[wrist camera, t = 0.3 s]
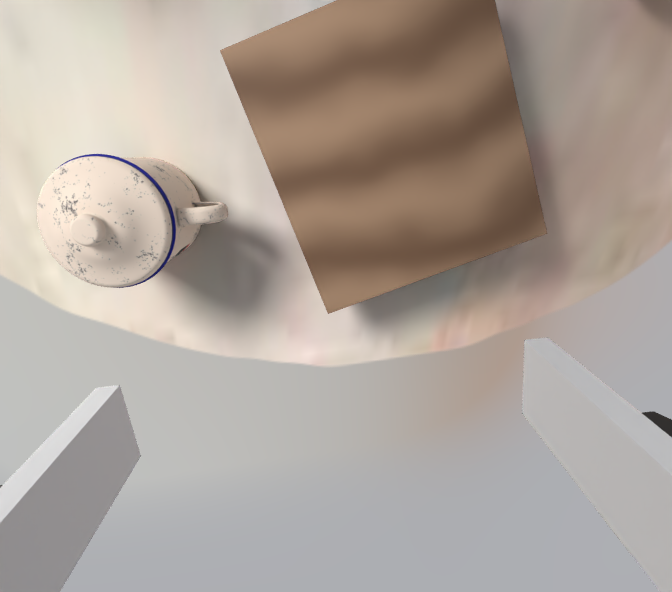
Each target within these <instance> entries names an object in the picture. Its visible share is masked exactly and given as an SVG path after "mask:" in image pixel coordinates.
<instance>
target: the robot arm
mask: <svg viewBox="0 0 672 592" xmlns="http://www.w3.org/2000/svg"><path fill="white" fill-rule="evenodd" d="M523 373H524V375H523V403H522V414H523V415H524V417H525V418H526V419H527V421H528V422H529V423H530V424H531V426H532V427H533V428H534V430H535V431H536V432H537V433H538V435H539V436H540V437H541V439H542V440H543V441H544V442H545V443H546V445H547V446H548V448H549V449H550V450H551V452H552V453H553V454H554V455H555V457H556V458H557V459H558V461H559V462H560V463H561V464H562V466H563V467H564V468H565V470H566V471H567V472H568V474H569V475H570V476H571V477H572V479H573V480H574V481H575V483H576V484H577V485H578V486H579V488H580V489H581V490H582V492H583V493H584V494H585V495H586V497H587V498H588V500H589V501H590V502H591V503H592V505H593V506H594V507H595V509H596V510H597V511H598V512H599V514H600V515H601V516H602V518H603V519H604V520H605V522H606V523H607V524H608V525H609V527H610V528H611V529H612V530H613V532H614V533H615V534H616V536H617V537H618V538H619V540H620V541H621V542H622V543H623V545H624V546H625V547H626V549H627V550H628V551H629V553H630V554H631V555H632V557H633V558H634V559H635V560H636V562H637V563H638V564H639V566H640V567H641V568H642V569H643V571H644V572H645V573H646V575H647V576H648V577H649V579H650V580H651V581H652V582H653V584H654V585H655V586H656V588H657V589H658V590H659V591H660V592H672V420H671V419H669V418H667V417H664V416H662V415H660V414H658V413H656V412H645V413H641V412H639V411H638V410H637V409H636V408H635V407H633V406H632V405H631V404H630V403H628V402H627V401H626V400H625V399H623V398H622V397H621V396H620V395H619V394H617V393H616V392H615V391H614V390H612V389H611V388H610V387H609V386H607V385H606V384H605V383H604V382H603V381H601V380H600V379H599V378H598V377H596V376H595V375H594V374H593V373H592V372H590V371H589V370H588V369H587V368H585V367H584V366H583V365H582V364H580V363H579V362H578V361H577V360H575V359H574V358H573V357H572V356H570V355H569V354H568V353H567V352H565V351H564V350H563V349H562V348H561V347H559V346H558V345H557V344H556V343H555V342H553V341H551V339H549V338H548V337H547V338H538V339H529V340H524V372H523ZM140 456H141V455H140V452H139V448H138V445H137V441H136V438H135V435H134V431H133V428H132V425H131V421H130V418H129V415H128V411H127V408H126V404H125V401H124V398H123V394H122V391H121V388H120V385H117V386H108V387H100V388H96V389H95V390H94V391H93V392H92V393H91V394H90V395H89V396H88V397H87V398H86V399H85V400H84V401H83V402H82V403H81V404H80V405H79V406H78V407H77V408H76V409H75V410H74V412H72V414H71V415H70V416H69V417H68V418H67V419H66V420H65V421H64V422H63V423H62V424H61V425H60V426H59V427H58V428H57V429H56V430H55V431H54V432H53V433H52V434H51V435H50V437H48V439H47V440H46V441H45V442H44V443H43V444H42V445H41V446H40V447H39V448H38V449H37V450H36V451H35V452H34V453H33V454H32V455H31V456H30V457H29V458H28V459H27V461H25V463H24V464H23V465H22V466H21V467H20V468H19V469H18V470H17V471H16V472H15V473H14V474H13V475H12V476H11V477H10V478H9V479H8V480H7V481H6V482H5V483H4V484H3V485H0V592H60V591H61V589H62V587H63V586H64V584H65V582H66V581H67V579H68V577H69V576H70V574H71V572H72V571H73V569H74V567H75V566H76V564H77V562H78V561H79V559H80V557H81V556H82V554H83V552H84V551H85V549H86V547H87V546H88V544H89V542H90V540H91V539H92V537H93V535H94V534H95V532H96V530H97V528H98V527H99V525H100V524H101V522H102V520H103V519H104V517H105V515H106V514H107V512H108V510H109V509H110V507H111V505H112V504H113V502H114V500H115V498H116V497H117V495H118V493H119V492H120V490H121V488H122V486H123V485H124V483H125V482H126V480H127V478H128V477H129V475H130V473H131V472H132V470H133V468H134V467H135V465H136V463H137V462H138V460H139V458H140Z"/></svg>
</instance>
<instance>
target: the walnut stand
mask: <svg viewBox="0 0 672 592" xmlns="http://www.w3.org/2000/svg"><path fill="white" fill-rule="evenodd" d="M220 52H221V54H222V57H223V59H224V61H225V64H226V66H227V69H228V71H229V74H230V76H231V78H232V81H233V83H234V86H235V88H236V91H237V93H238V95H239V98H240V100H241V103H242V105H243V108H244V110H245V113H246V115H247V117H248V120H249V122H250V125H251V127H252V130H253V132H254V134H255V137H256V139H257V142H258V144H259V147H260V149H261V152H262V154H263V156H264V159H265V161H266V164H267V166H268V169H269V171H270V173H271V176H272V178H273V181H274V183H275V186H276V188H277V190H278V193H279V195H280V198H281V200H282V203H283V205H284V208H285V210H286V212H287V215H288V217H289V220H290V222H291V225H292V227H293V229H294V232H295V234H296V237H297V239H298V242H299V244H300V247H301V249H302V251H303V254H304V256H305V259H306V261H307V264H308V266H309V268H310V271H311V273H312V276H313V278H314V281H315V283H316V285H317V288H318V290H319V293H320V295H321V298H322V300H323V303H324V305H325V307H326V310H327V312H328V314H329V313H332V312H335V311H337V310H340V309H343V308H345V307H348V306H351V305H354V304H356V303H359V302H362V301H365V300H367V299H370V298H373V297H375V296H378V295H381V294H384V293H386V292H389V291H392V290H395V289H397V288H400V287H403V286H405V285H408V284H411V283H414V282H416V281H419V280H422V279H425V278H427V277H430V276H433V275H435V274H438V273H441V272H444V271H446V270H449V269H452V268H455V267H457V266H460V265H463V264H465V263H468V262H471V261H474V260H476V259H479V258H482V257H485V256H487V255H490V254H493V253H495V252H498V251H501V250H504V249H506V248H509V247H512V246H515V245H517V244H520V243H523V242H525V241H528V240H531V239H534V238H536V237H539V236H542V235H545V234H547V231H546V226H545V222H544V217H543V213H542V209H541V204H540V200H539V195H538V191H537V186H536V182H535V177H534V173H533V169H532V164H531V160H530V155H529V151H528V146H527V142H526V138H525V133H524V129H523V124H522V120H521V115H520V111H519V106H518V102H517V98H516V93H515V89H514V84H513V80H512V75H511V71H510V66H509V62H508V58H507V53H506V49H505V44H504V40H503V35H502V31H501V26H500V22H499V18H498V13H497V9H496V4H495V0H337V1H334V2H332V3H330V4H327V5H325V6H323V7H320V8H318V9H316V10H313V11H311V12H309V13H306V14H304V15H302V16H299V17H297V18H295V19H292V20H290V21H288V22H285V23H283V24H281V25H278V26H276V27H274V28H271V29H269V30H267V31H264V32H262V33H260V34H257V35H255V36H253V37H250V38H248V39H246V40H243V41H241V42H239V43H236V44H234V45H232V46H229V47H227V48H225V49H222V50H220Z"/></svg>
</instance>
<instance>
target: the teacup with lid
mask: <svg viewBox="0 0 672 592" xmlns="http://www.w3.org/2000/svg"><path fill="white" fill-rule="evenodd" d="M227 217H228V210H227V206H226V205H225V204H224V203H221V202H201V201H200V198H199V195H198V193H197V191H196V189H195V187H194V185H193V184H192V182H191V181H190V180H189V178H188V177H187V176H186V175H185V174H184V173H183V172H182V171H180V170H179V169H178V168H176V167H175V166H173V165H171V164H169V163H167V162H165V161H162V160H159V159H155V158H147V157H139V158H119V157H115V156H111V155H104V154H90V155H84V156H79V157H76V158H73V159H71V160H69V161H67V162H65V163H64V164H62V165H61V166H59V167H58V168H57V169H56V170H55V171H54V172H53V173H52V174H51V175H50V176H49V177H48V179H47V180H46V182H45V183H44V185H43V187H42V189H41V192H40V195H39V199H38V204H37V220H38V226H39V230H40V234H41V236H42V239H43V241H44V243H45V245H46V247H47V249H48V250H49V252H50V253H51V255H52V256H53V257H54V258H55V259H56V261H57V262H58V263H59V264H60V265H61V266H62V267H64V268H65V269H66V270H67V271H68V272H70V273H71V274H73V275H74V276H76V277H78V278H80V279H81V280H84V281H86V282H88V283H91V284H94V285H98V286H103V287H113V288H123V287H130V286H134V285H137V284H140V283H143V282H145V281H147V280H149V279H150V278H152V277H153V276H155V275H156V274H157V273H158V272H159V271H160V270H161V269H162V268H163V267H164V266H165V264H166V263H167V262H169V261H170V260H172V259H173V258H174V257H176V256H177V255H179V254H180V253H182V252H183V251H184V250H186V249H187V248H188V247H189V246H190V245H191V244H192V243H193V241H194V240H195V239H196V237H197V235H198V233H199V230H200V227H201V225H203V224H211V223H217V222H221V221H223V220H225V219H226V218H227Z"/></svg>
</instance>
